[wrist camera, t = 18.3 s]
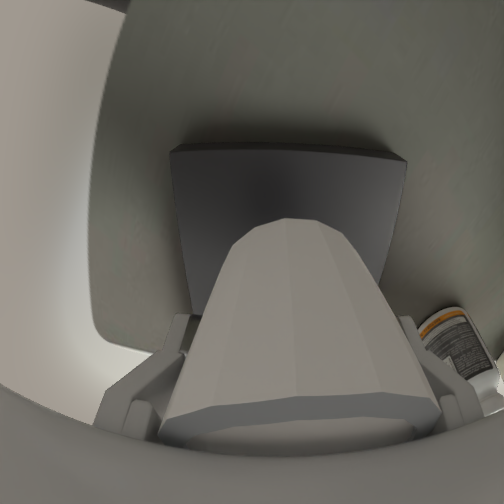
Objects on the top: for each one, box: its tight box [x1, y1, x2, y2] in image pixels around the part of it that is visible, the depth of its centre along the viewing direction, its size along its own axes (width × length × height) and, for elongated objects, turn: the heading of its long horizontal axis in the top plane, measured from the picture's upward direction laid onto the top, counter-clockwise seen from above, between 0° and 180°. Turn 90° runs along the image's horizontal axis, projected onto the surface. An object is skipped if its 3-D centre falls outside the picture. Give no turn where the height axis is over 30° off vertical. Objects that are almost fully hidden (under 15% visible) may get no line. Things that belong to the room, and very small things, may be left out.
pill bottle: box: [418, 307, 504, 417], centre depth 15 cm, size 6×6×10 cm
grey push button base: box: [169, 142, 407, 315], centre depth 16 cm, size 15×11×4 cm
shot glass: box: [157, 218, 442, 456], centre depth 8 cm, size 7×7×7 cm
